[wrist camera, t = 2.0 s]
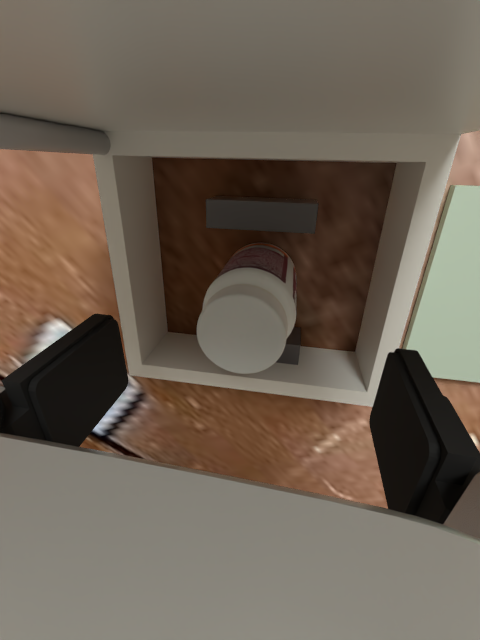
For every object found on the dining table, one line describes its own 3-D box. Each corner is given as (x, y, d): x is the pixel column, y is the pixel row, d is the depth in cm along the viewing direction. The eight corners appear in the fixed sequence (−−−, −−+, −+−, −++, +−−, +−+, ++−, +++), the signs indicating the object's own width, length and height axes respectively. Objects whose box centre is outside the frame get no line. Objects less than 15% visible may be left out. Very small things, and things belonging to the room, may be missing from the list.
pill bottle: (212, 268, 21) (165, 322, 14) (270, 226, 19) (251, 262, 12) (253, 320, 23) (230, 396, 15) (310, 286, 21) (316, 353, 13)
